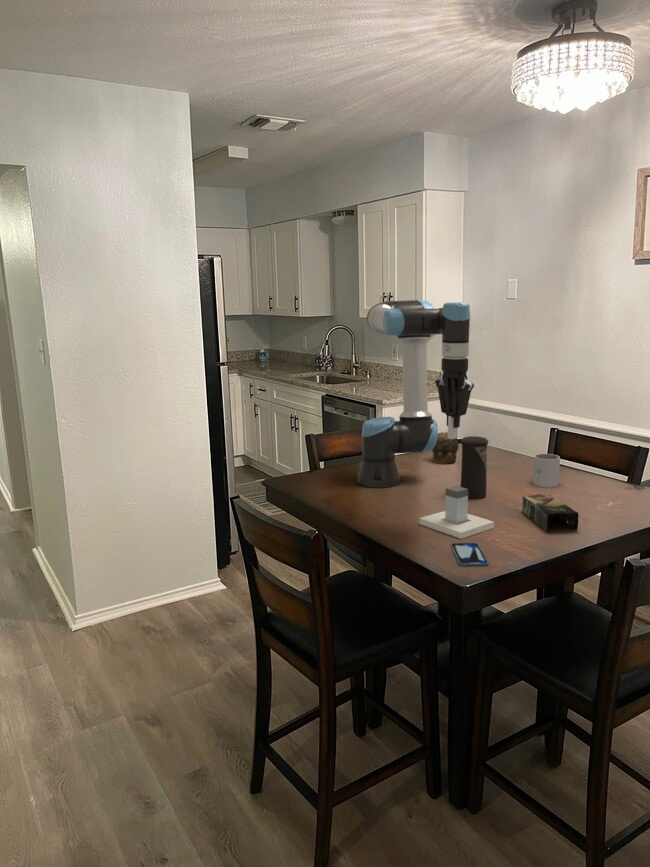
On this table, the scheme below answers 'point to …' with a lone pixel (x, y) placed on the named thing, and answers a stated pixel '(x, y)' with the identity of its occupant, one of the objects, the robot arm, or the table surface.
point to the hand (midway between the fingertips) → (452, 437)
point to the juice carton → (548, 510)
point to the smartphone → (469, 554)
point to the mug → (546, 470)
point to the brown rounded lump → (445, 449)
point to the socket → (459, 531)
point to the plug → (456, 505)
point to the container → (474, 466)
